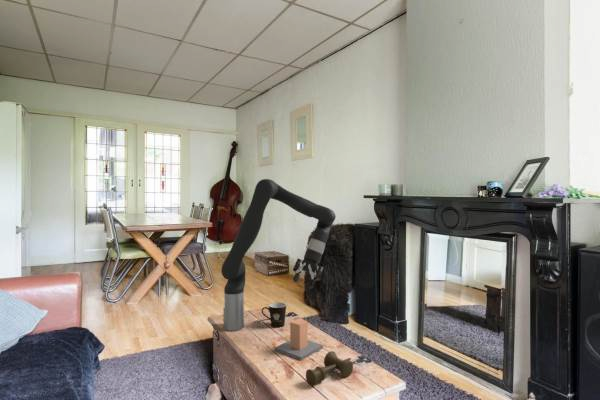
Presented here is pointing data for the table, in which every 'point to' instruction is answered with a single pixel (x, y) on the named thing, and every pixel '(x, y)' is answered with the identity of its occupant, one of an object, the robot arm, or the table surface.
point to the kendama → (329, 368)
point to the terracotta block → (298, 334)
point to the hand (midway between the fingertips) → (302, 285)
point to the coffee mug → (276, 314)
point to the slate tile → (297, 353)
